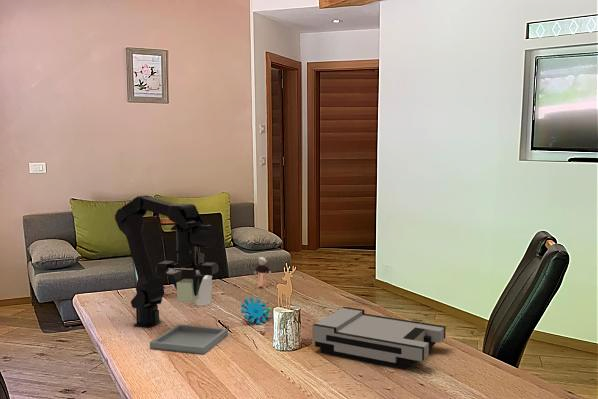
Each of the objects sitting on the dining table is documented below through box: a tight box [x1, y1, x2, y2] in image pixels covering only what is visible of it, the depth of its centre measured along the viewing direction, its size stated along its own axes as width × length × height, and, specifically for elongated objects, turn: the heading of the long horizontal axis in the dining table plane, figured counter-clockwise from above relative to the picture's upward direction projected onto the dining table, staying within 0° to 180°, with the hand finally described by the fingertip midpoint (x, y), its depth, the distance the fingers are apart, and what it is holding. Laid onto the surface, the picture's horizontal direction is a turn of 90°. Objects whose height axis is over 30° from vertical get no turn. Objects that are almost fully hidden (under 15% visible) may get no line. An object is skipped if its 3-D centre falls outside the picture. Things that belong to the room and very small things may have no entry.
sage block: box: [176, 278, 199, 303], centre depth 179 cm, size 5×5×6 cm
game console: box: [311, 306, 447, 370], centre depth 165 cm, size 21×32×8 cm, turn 60°
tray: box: [149, 323, 229, 356], centre depth 173 cm, size 17×17×2 cm
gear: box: [240, 296, 272, 325], centre depth 194 cm, size 11×6×10 cm
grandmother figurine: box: [253, 256, 272, 289], centre depth 237 cm, size 8×4×13 cm, turn 80°
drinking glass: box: [194, 275, 213, 307], centre depth 214 cm, size 7×7×10 cm
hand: (188, 295), depth 180 cm, fingers closed on sage block, 5 cm apart
